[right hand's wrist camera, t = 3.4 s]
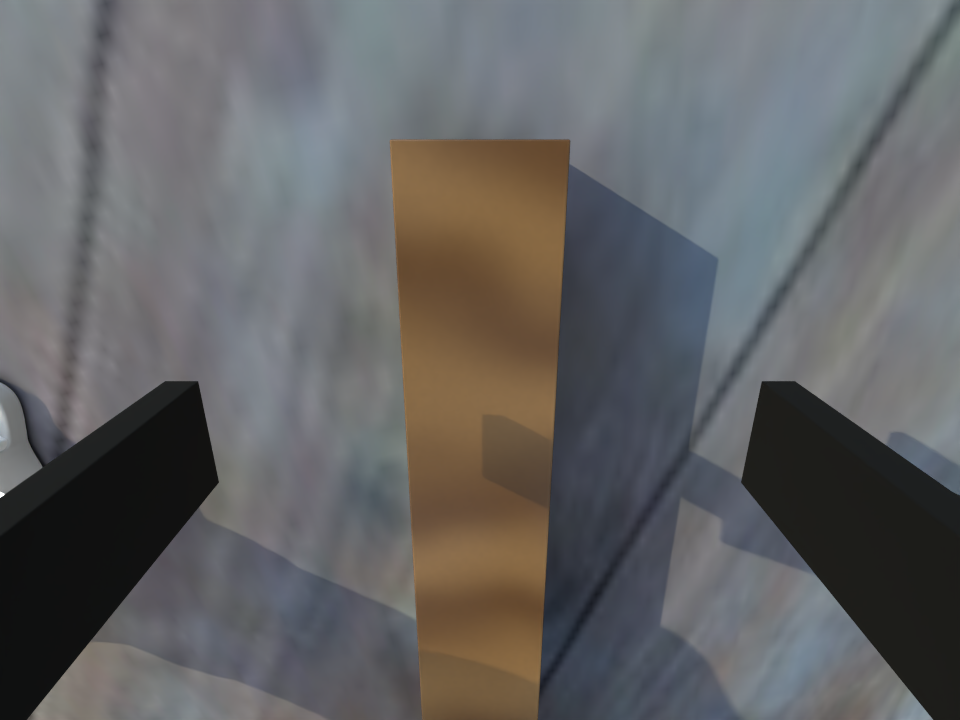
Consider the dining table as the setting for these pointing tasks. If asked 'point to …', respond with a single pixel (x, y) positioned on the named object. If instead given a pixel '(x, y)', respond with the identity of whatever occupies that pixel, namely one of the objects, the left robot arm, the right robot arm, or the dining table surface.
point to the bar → (480, 408)
